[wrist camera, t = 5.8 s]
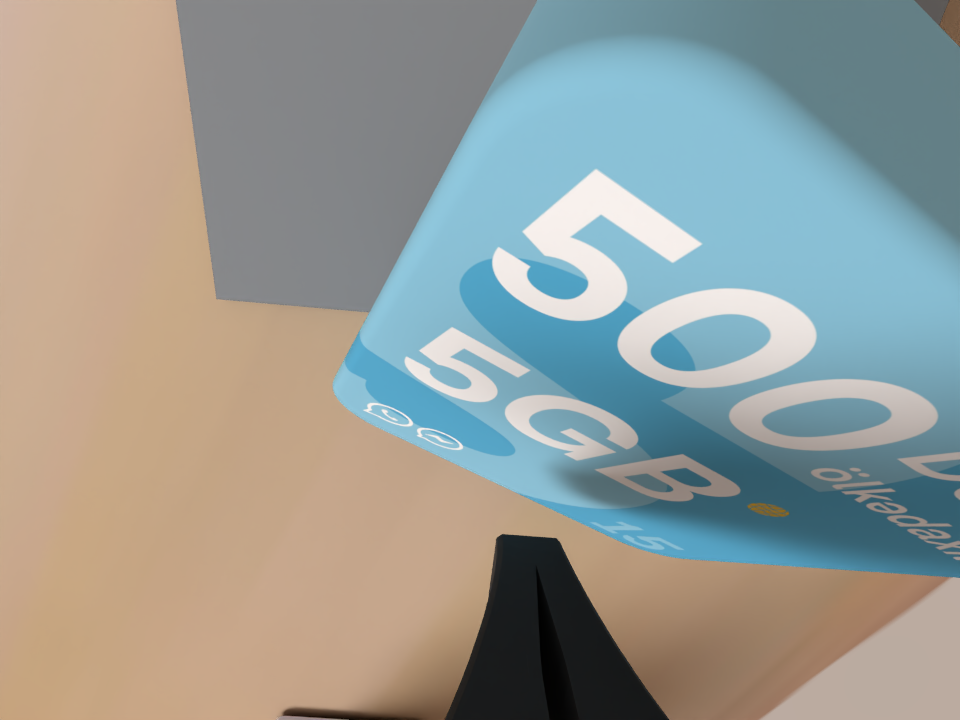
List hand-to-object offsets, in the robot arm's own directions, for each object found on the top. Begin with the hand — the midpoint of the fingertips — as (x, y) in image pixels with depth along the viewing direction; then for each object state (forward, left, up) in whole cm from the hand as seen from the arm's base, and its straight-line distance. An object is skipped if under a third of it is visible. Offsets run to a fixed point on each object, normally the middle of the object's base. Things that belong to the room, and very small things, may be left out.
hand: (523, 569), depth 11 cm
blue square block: (0, 0, -6) cm, 6 cm away
